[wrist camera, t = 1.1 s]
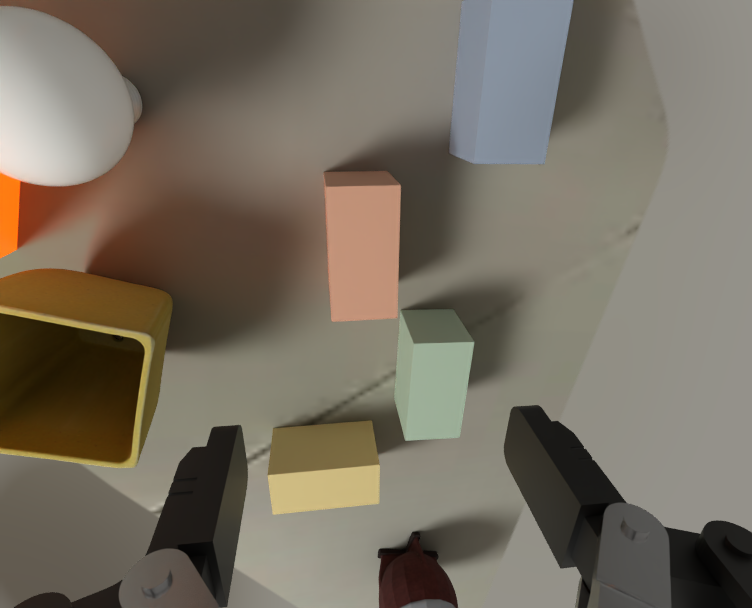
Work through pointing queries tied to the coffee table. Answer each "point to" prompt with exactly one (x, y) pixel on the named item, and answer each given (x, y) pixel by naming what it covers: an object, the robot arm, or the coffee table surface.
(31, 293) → the flower pot
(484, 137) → the slate brick
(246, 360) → the coffee table surface
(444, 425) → the sage brick
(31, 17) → the lightbulb
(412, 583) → the mate gourd
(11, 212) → the orange juice
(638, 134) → the coffee table surface
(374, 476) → the ochre brick
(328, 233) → the terracotta brick
